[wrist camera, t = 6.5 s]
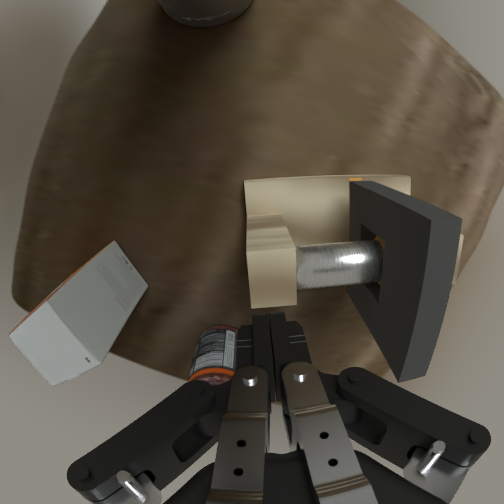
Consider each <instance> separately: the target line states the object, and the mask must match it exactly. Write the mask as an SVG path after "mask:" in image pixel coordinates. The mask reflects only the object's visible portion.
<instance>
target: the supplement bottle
mask: <svg viewBox="0 0 504 504" xmlns="http://www.w3.org/2000/svg"><path fill="white" fill-rule="evenodd" d="M237 332H238V330H237V329H235V328H233V327H230V326H226V325H218V326H213V327H210V328H208V329H206V330H205V331H203V333H202V334H201V335H200V336H199V339H198V342H197V345H196V349H195V354H194V358H193V362H192V367H191V372H190V376H189V381H193V380H203V381H206V382H208V383H210V384H211V385H212V386H215V385H219V384H222V383H225V382H227V381H228V380H230V379H231V378H232V376H233V374H234V373H235V371H236V353H237ZM189 381H188V382H189Z"/></svg>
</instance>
